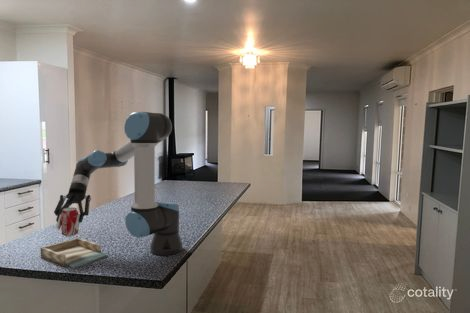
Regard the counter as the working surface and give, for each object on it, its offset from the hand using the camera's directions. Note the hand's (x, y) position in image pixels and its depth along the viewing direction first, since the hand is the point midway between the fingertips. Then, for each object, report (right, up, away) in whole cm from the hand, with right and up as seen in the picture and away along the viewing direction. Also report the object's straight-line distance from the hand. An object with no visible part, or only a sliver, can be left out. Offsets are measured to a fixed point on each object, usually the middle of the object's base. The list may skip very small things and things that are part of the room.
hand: (67, 228), depth 153 cm
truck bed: (+2, -13, +2) cm, 14 cm away
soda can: (0, -4, +4) cm, 6 cm away
